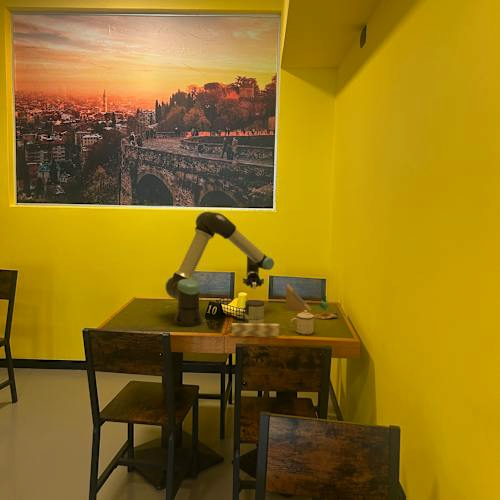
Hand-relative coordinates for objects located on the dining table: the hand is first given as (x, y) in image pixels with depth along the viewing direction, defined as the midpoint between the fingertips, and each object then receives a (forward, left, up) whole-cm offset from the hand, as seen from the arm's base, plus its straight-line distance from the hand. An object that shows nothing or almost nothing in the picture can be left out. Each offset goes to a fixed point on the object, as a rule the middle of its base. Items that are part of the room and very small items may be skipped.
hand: (254, 286), depth 261 cm
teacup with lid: (+25, -17, -20) cm, 37 cm away
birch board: (0, -25, -20) cm, 32 cm away
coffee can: (0, -11, -20) cm, 23 cm away
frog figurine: (+43, +11, -20) cm, 49 cm away
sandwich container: (+29, +30, -20) cm, 47 cm away
